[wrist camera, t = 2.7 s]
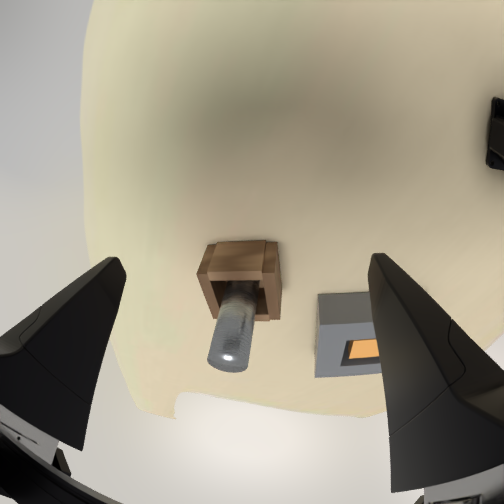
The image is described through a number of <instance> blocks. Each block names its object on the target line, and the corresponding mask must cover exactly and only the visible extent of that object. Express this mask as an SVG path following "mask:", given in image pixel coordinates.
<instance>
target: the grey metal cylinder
mask: <svg viewBox="0 0 504 504" xmlns="http://www.w3.org/2000/svg"><path fill="white" fill-rule="evenodd" d="M259 287H260V280H227V284H226V288H225V292H224V295H223V299H222V303H221V307H220V311H219V315H218V319H217V322H216V326H215V330H214V334H213V338H212V342H211V346H210V350H209V354H208V358H207V361H208V363H209V364H210V365H211V366H213V367H214V368H216V369H218V370H221V371H225V372H233V373H235V372H242V371H244V370H246V369H247V367H248V361H249V354H250V348H251V341H252V335H253V328H254V321H255V314H256V307H257V300H258V294H259Z"/></svg>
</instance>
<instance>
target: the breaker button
mask: <svg viewBox="0 0 504 504" xmlns="http://www.w3.org/2000/svg"><path fill="white" fill-rule="evenodd" d="M348 354H349V359H351V358H365V357H376V356H379V352H378V346H377V341H376V338H374V339H361V340H350V342H349V346H348Z"/></svg>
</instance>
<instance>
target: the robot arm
mask: <svg viewBox="0 0 504 504" xmlns="http://www.w3.org/2000/svg"><path fill="white" fill-rule="evenodd" d="M497 102H498V105H497ZM491 161H492V162H491ZM490 163H491V164H490ZM486 164H487V166H489V167H490V168H493V169H499V170H504V100H503V99H500V98H497V97H495V98H493V101H492V118H491V129H490V138H489V146H488V153H487V160H486ZM125 282H126V272H125V270H124V268H123V266H122V264H121V262H120V260H119V258H117V257H108V258H106V259H104V260H103V261H102V262H100V263H99V264H97V265H96V266H94V267H93V268H91V269H90V270H89V271H87V272H86V273H84V274H83V275H82V276H80V277H79V278H77V279H76V280H75V281H73V282H72V283H71V284H69V285H68V286H67V287H65V288H64V289H63V290H61V291H60V292H58V293H57V294H56V295H55V296H53V297H52V298H51V299H49V300H48V301H47V302H45V303H44V304H43V305H42V306H40V307H39V308H38V309H36V310H35V311H34V312H33V313H31V314H30V315H29V316H28V317H26V318H25V319H23V320H22V321H21V322H20V323H18V324H17V325H16V326H14V327H13V328H11V329H10V330H9V331H7V332H6V333H5V334H3V335H2V336H1V337H0V495H3V496H6V497H9V498H12V499H14V500H15V501H16V502H17V503H18V504H122V503H120V502H117V501H115V500H113V499H111V498H108V497H106V496H104V495H102V494H100V493H98V492H96V491H94V490H92V489H91V488H89V487H87V486H85V485H83V484H81V483H79V482H78V481H76V480H74V479H72V478H71V477H70V476H71V472H70V469H69V467H68V464H67V462H66V459H65V457H64V454H63V451H62V450H61V449H59V448H58V447H57V446H58V443H59V441H61V442H63V443H65V444H67V445H69V446H71V447H73V448H75V449H78V450H80V451H82V450H83V446H84V440H85V435H86V429H87V424H88V419H89V414H90V409H91V404H92V400H93V395H94V391H95V387H96V383H97V379H98V375H99V372H100V368H101V364H102V361H103V357H104V354H105V350H106V347H107V344H108V341H109V337H110V334H111V331H112V328H113V325H114V322H115V319H116V316H117V313H118V309H119V305H120V301H121V297H122V293H123V289H124V286H125ZM368 284H369V292H370V301H371V311H372V320H373V326H374V331H375V336H376V341H377V346H378V352H379V358H380V364H381V370H382V377H383V384H384V391H385V399H386V408H387V417H388V428H389V436H390V437H389V443H390V459H391V460H390V462H391V493H395V492H402V491H409V490H415V489H421V488H424V495H422V496H420V498H419V499H418V500H417V501H416V502H415V503H414V504H504V370H502V369H501V368H500V366H499V365H498V364H497V363H495V362H494V361H493V360H492V359H491V358H490V357H489V356H488V355H487V354H486V353H485V352H484V351H483V350H482V349H481V348H480V347H479V346H478V345H477V344H476V343H475V342H474V341H473V340H472V339H471V338H470V337H469V336H468V335H467V334H466V333H465V332H464V331H463V330H462V328H461V327H460V326H459V325H458V324H457V323H456V322H455V321H454V320H453V319H451V317H450V316H449V315H448V314H447V313H446V312H445V311H444V309H443V308H442V307H441V306H440V305H439V304H438V303H437V302H436V301H435V300H434V299H433V298H432V297H431V296H430V295H429V294H428V293H427V292H426V291H425V290H424V289H423V288H422V287H421V286H420V285H419V284H418V283H416V282H415V281H414V280H413V279H412V278H411V277H410V276H409V275H408V274H407V273H406V272H405V271H404V270H403V269H402V268H401V267H399V266H398V265H397V264H396V263H395V262H394V261H393V260H392V259H391V258H390V257H388V256H387V255H386V254H385V253H374V254H372V257H371V261H370V266H369V271H368Z"/></svg>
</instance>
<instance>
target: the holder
mask: <svg viewBox="0 0 504 504" xmlns="http://www.w3.org/2000/svg"><path fill="white" fill-rule="evenodd" d="M197 277H198V280H199V283H200V285H201V288H202V291H203V293H204V296H205V298H206V301H207V304H208V306H209V309H210V311H211V314H212V316H213V319H218V315H219V311H220V307H221V303H222V299H223V295H224V292H225V288H226V284H227V280H260V287H259V294H258V300H257V307H256V314H255V321H270V320H280V312H281V297H282V284H281V274H280V264H279V254H278V245H277V242H267V243H266V240H261V241H238V242H217V245H208V246H207V248H206V251H205V253H204V256H203V259H202V261H201V264H200V266H199V269H198V271H197Z"/></svg>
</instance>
